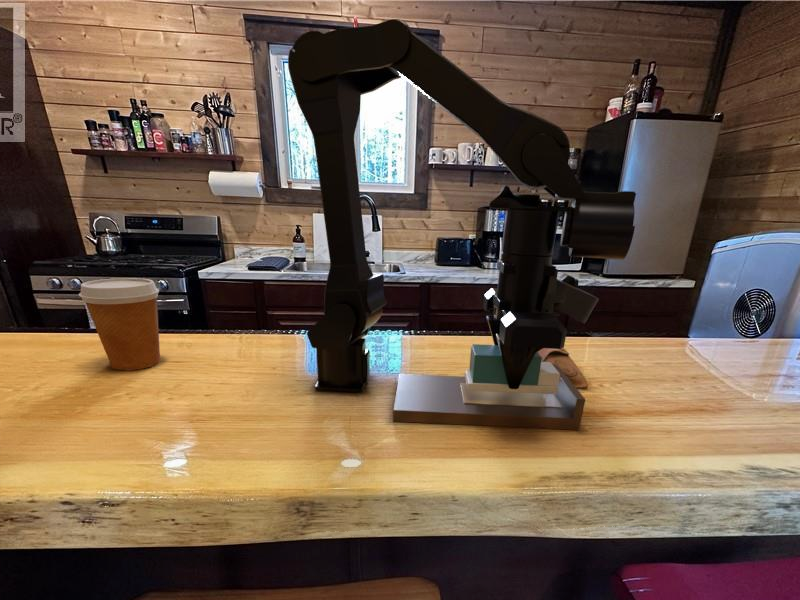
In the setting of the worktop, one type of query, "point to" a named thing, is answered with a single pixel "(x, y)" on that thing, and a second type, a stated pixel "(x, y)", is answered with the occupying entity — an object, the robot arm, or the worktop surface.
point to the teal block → (492, 377)
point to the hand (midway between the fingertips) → (509, 380)
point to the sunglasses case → (564, 365)
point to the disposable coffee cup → (125, 320)
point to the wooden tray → (485, 404)
